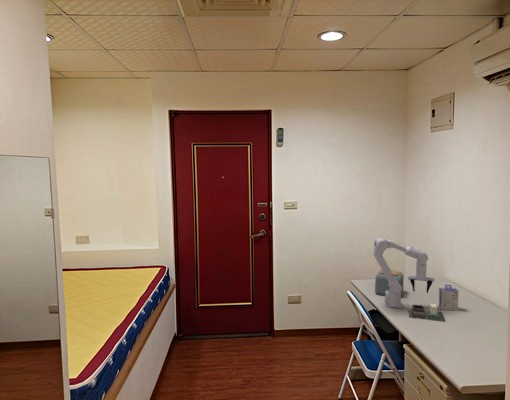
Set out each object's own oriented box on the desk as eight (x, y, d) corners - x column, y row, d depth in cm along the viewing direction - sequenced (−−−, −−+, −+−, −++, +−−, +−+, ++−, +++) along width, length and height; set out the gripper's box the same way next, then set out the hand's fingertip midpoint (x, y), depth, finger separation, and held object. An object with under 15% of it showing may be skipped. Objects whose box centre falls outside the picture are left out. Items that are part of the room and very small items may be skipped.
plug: (430, 316, 208) (431, 306, 207) (430, 313, 212) (430, 303, 212) (436, 317, 207) (436, 307, 206) (435, 314, 211) (436, 304, 210)
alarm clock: (403, 291, 250) (404, 269, 249) (399, 299, 237) (399, 275, 235) (379, 287, 259) (380, 266, 258) (374, 294, 245) (374, 272, 244)
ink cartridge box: (455, 307, 222) (456, 284, 221) (458, 310, 217) (459, 287, 215) (438, 306, 224) (439, 283, 223) (440, 309, 219) (441, 286, 217)
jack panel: (408, 317, 208) (409, 310, 208) (407, 308, 221) (407, 302, 220) (445, 321, 202) (445, 314, 201) (442, 312, 214) (442, 306, 214)
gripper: (408, 271, 220) (408, 292, 222) (435, 273, 216) (434, 295, 217) (408, 268, 227) (407, 288, 228) (433, 270, 222) (432, 291, 223)
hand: (420, 291), depth 223 cm, fingers open, 7 cm apart
